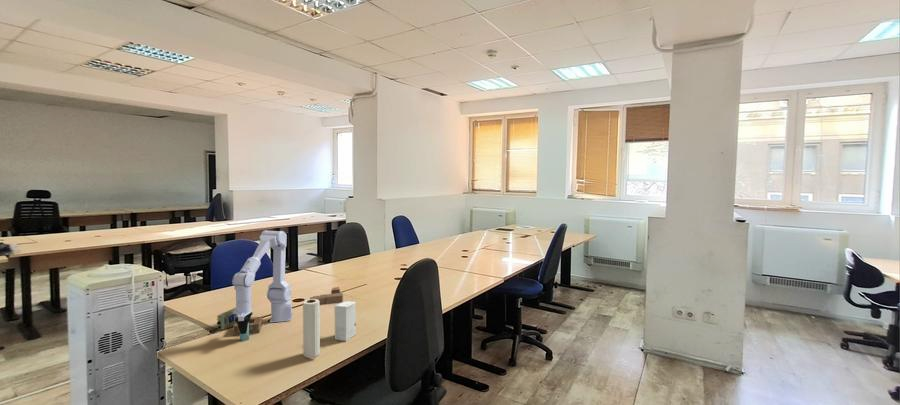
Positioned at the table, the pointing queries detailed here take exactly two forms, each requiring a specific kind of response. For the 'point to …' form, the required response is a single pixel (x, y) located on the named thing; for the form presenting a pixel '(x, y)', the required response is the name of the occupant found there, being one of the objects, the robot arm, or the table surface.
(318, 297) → the wooden block set
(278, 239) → the robot arm
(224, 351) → the table surface
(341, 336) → the skincare box
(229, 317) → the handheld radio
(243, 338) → the peg
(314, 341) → the paper towel roll
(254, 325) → the socket block
